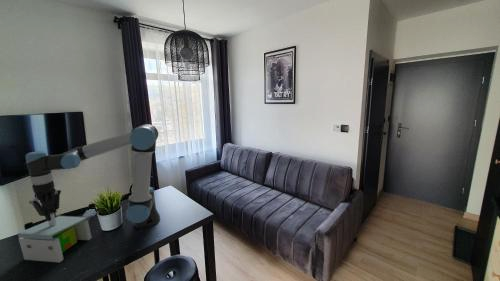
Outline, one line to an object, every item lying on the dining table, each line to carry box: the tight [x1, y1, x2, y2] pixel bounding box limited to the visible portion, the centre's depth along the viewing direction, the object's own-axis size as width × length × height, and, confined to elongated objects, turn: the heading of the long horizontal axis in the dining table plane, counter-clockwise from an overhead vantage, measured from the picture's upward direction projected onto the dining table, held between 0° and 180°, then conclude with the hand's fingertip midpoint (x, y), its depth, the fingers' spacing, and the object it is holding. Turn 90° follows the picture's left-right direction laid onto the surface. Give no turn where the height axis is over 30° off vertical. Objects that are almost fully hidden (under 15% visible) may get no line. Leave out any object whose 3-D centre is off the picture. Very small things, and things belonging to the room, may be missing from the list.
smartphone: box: [81, 209, 97, 218], centre depth 145 cm, size 7×1×15 cm
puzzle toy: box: [52, 226, 78, 254], centre depth 109 cm, size 10×10×10 cm
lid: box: [17, 215, 87, 239], centre depth 106 cm, size 18×20×2 cm
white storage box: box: [18, 214, 92, 263], centre depth 108 cm, size 21×19×14 cm
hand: (52, 224), depth 105 cm, fingers closed
